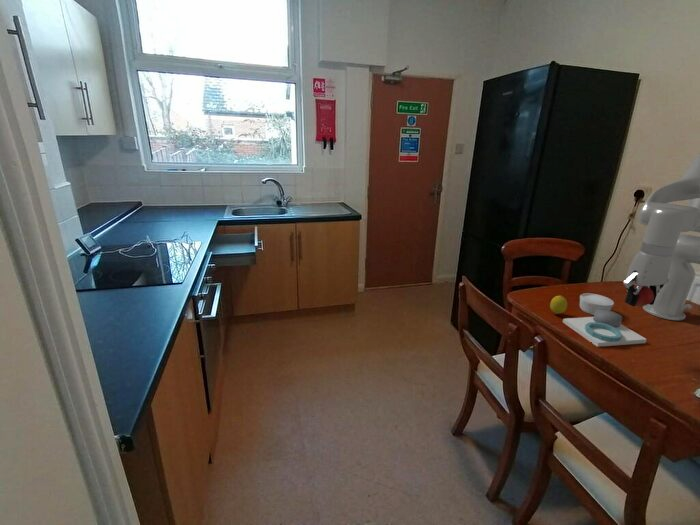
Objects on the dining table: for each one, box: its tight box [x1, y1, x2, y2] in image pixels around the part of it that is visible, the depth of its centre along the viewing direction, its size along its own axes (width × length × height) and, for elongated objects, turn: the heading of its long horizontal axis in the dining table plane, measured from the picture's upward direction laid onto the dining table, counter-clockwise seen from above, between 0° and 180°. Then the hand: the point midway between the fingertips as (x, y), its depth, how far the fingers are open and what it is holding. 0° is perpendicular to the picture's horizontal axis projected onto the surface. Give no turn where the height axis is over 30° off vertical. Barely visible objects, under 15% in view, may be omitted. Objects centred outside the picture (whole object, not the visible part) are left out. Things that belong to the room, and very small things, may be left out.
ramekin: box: [579, 292, 615, 316], centre depth 135 cm, size 11×11×5 cm
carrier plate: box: [562, 309, 648, 348], centre depth 120 cm, size 18×16×4 cm
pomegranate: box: [634, 286, 654, 308], centre depth 107 cm, size 6×6×8 cm
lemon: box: [549, 295, 568, 315], centre depth 131 cm, size 6×6×8 cm
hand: (638, 303), depth 108 cm, fingers closed on pomegranate, 5 cm apart
